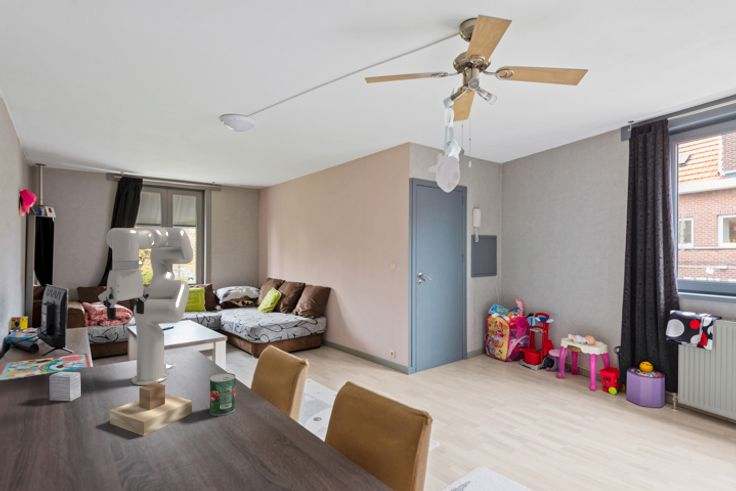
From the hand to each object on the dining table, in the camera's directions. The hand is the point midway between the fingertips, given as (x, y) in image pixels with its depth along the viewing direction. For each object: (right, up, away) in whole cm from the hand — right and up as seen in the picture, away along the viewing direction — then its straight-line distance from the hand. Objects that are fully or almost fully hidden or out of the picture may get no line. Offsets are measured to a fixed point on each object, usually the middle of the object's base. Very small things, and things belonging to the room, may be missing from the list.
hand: (126, 316), depth 129 cm
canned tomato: (+34, -30, -4) cm, 46 cm away
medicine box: (-23, -29, +4) cm, 38 cm away
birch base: (+14, -30, -10) cm, 35 cm away
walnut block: (+14, -26, -10) cm, 31 cm away
